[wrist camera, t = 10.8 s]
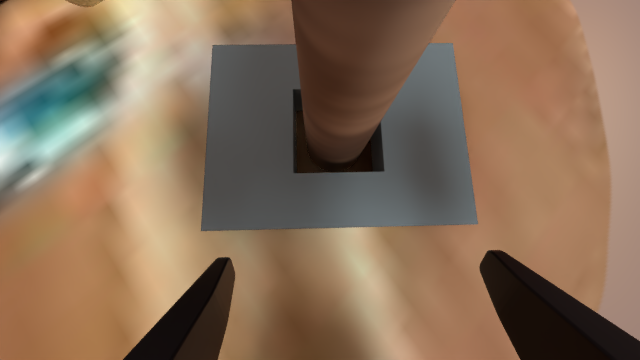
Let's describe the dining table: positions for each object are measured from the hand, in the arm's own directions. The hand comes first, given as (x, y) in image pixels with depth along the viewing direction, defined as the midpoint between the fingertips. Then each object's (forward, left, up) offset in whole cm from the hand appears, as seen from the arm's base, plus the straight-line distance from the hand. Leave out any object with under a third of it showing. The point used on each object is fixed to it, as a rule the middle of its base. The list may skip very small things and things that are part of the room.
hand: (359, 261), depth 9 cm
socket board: (+5, -5, -8) cm, 11 cm away
